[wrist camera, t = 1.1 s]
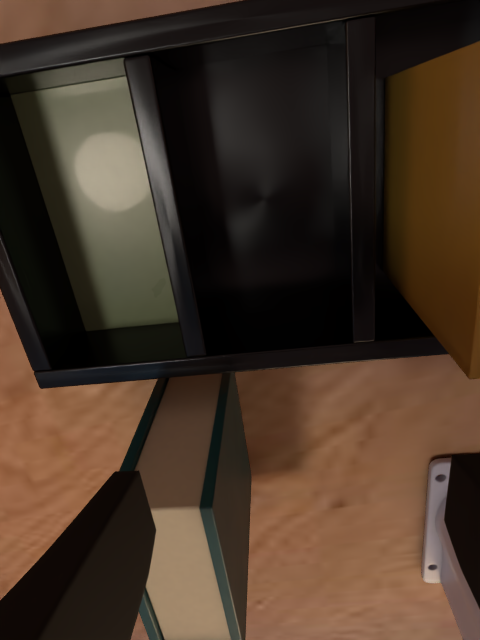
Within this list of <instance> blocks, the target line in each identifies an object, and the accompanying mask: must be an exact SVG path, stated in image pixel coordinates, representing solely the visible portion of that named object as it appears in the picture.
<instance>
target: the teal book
mask: <svg viewBox="0 0 480 640" xmlns="http://www.w3.org/2000/svg"><path fill="white" fill-rule="evenodd" d="M138 470H139V471H140V475H141V478H142V482H143V485H144V489H145V492H146V496H147V499H148V503H149V506H150V509H151V513H152V516H153V520H154V523H155V527H156V535H155V542H154V548H153V554H152V560H151V565H150V571H149V576H148V580H147V583H146V587H145V590H144V594H143V598H142V601H141V605H140V608H139V613H140V616H141V619H142V621H143V624H144V626H145V629H146V632H147V634H148V637H149V640H245V634H246V608H247V581H248V555H249V528H250V502H251V471H250V465H249V459H248V452H247V446H246V440H245V434H244V428H243V421H242V415H241V409H240V403H239V397H238V391H237V384H236V378H235V372H231V373H219V374H207V375H196V376H184V377H172V378H160V379H158V380H157V382H156V385H155V387H154V389H153V392H152V394H151V397H150V399H149V401H148V404H147V406H146V408H145V411H144V413H143V416H142V418H141V420H140V423H139V425H138V428H137V430H136V432H135V435H134V437H133V439H132V442H131V444H130V447H129V449H128V451H127V454H126V456H125V458H124V461H123V463H122V466H121V468H120V470H119V471H138Z"/></svg>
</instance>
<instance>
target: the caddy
mask: <svg viewBox="0 0 480 640" xmlns="http://www.w3.org/2000/svg"><path fill="white" fill-rule="evenodd" d="M478 41H480V0H243V1H237V2H232V3H226V4H220V5H215V6H209V7H204V8H198V9H192V10H187V11H181V12H176V13H170V14H164V15H159V16H153V17H148V18H142V19H136V20H131V21H125V22H120V23H114V24H108V25H103V26H97V27H92V28H86V29H80V30H75V31H69V32H64V33H58V34H52V35H47V36H41V37H36V38H30V39H24V40H19V41H13V42H8V43H2V44H0V289H1V292H2V294H3V297H4V299H5V302H6V304H7V307H8V309H9V312H10V314H11V317H12V319H13V322H14V324H15V327H16V329H17V332H18V334H19V337H20V339H21V342H22V344H23V347H24V350H25V352H26V355H27V357H28V360H29V362H30V365H31V367H32V370H33V371H34V375H35V377H36V380H37V382H38V385H39V387H40V388H41V389H43V388H55V387H66V386H78V385H90V384H102V383H113V382H125V381H137V380H149V379H160V378H172V377H184V376H196V375H207V374H219V373H231V372H243V371H255V370H266V369H278V368H290V367H302V366H313V365H325V364H337V363H349V362H360V361H372V360H384V359H396V358H408V357H419V356H431V355H443V354H449V353H448V352H447V351H446V349H445V348H444V347H443V346H442V344H441V343H440V342H439V341H438V340H437V338H436V337H435V336H434V335H433V333H432V332H431V331H430V330H429V328H428V327H427V326H426V325H425V323H424V322H423V321H422V320H421V318H420V317H419V316H418V315H417V313H416V312H415V311H414V310H413V308H412V307H411V306H410V305H409V303H408V302H407V301H406V300H405V298H404V297H403V296H402V295H401V293H400V292H399V291H398V290H397V288H396V287H395V286H394V285H393V283H392V282H391V281H390V280H389V279H388V277H387V276H386V275H385V274H384V272H383V232H384V139H385V78H386V77H388V76H391V75H393V74H396V73H399V72H401V71H404V70H406V69H409V68H411V67H414V66H417V65H419V64H422V63H424V62H427V61H429V60H432V59H435V58H437V57H440V56H442V55H445V54H447V53H450V52H453V51H455V50H458V49H460V48H463V47H465V46H468V45H471V44H473V43H476V42H478Z"/></svg>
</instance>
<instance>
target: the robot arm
mask: <svg viewBox="0 0 480 640" xmlns="http://www.w3.org/2000/svg"><path fill="white" fill-rule="evenodd" d="M440 474H442V475H440ZM438 475H440V476H438ZM155 535H156V527H155V523H154V520H153V516H152V513H151V509H150V506H149V503H148V499H147V496H146V492H145V489H144V485H143V482H142V478H141V475H140V471H139V470H138V471H118V472H114V473H113V474H112V476H111V477H110V478H109V479H108V480H107V481H106V482H105V484H104V485H103V486H102V487H101V488H100V490H99V491H98V492H97V493H96V494H95V495H94V497H93V498H92V499H91V500H90V501H89V503H88V504H87V505H86V506H85V507H84V509H83V510H82V511H81V512H80V513H79V514H78V516H77V517H76V518H75V519H74V520H73V522H72V523H71V524H70V525H69V526H68V527H67V528H66V530H65V531H64V532H63V533H62V534H61V535H60V536H59V538H58V539H57V540H56V541H55V542H54V543H53V544H52V546H51V547H50V548H49V549H48V550H47V551H46V552H45V553H44V555H43V556H42V557H41V558H40V559H39V560H38V561H37V562H36V563H35V564H34V565H33V567H32V568H31V569H30V570H29V571H28V572H27V573H26V574H25V575H24V576H23V577H22V578H21V579H20V580H19V581H18V582H17V584H16V585H15V586H14V587H13V588H12V589H11V590H10V591H9V592H8V593H7V594H6V595H5V596H4V597H3V598H2V599H1V600H0V640H130V639H131V636H132V633H133V629H134V626H135V622H136V619H137V615H138V612H139V608H140V605H141V601H142V598H143V594H144V590H145V587H146V583H147V580H148V576H149V571H150V565H151V560H152V554H153V548H154V542H155ZM421 575H422V578H423V580H424V581H425V582H427V583H442V586H443V588H444V591H445V594H446V596H447V599H448V601H449V604H450V607H451V609H452V612H453V614H454V617H455V620H456V622H457V625H458V627H459V630H460V633H461V635H462V638H463V640H480V454H466V455H452V457H451V458H439V459H435V460H433V461H432V462H431V463H430V465H429V471H428V485H427V498H426V512H425V526H424V539H423V553H422V566H421Z"/></svg>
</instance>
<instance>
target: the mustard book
mask: <svg viewBox="0 0 480 640" xmlns="http://www.w3.org/2000/svg"><path fill="white" fill-rule="evenodd" d="M383 272H384V274H385V275H386V276H387V277H388V279H389V280H390V281H391V282H392V283H393V285H394V286H395V287H396V288H397V290H398V291H399V292H400V293H401V295H402V296H403V297H404V298H405V300H406V301H407V302H408V303H409V305H410V306H411V307H412V308H413V310H414V311H415V312H416V313H417V315H418V316H419V317H420V318H421V320H422V321H423V322H424V323H425V325H426V326H427V327H428V328H429V330H430V331H431V332H432V333H433V335H434V336H435V337H436V338H437V340H438V341H439V342H440V343H441V344H442V346H443V347H444V348H445V349H446V351H447V352H448V353H449V354H450V356H451V357H452V358H453V359H454V361H455V362H456V363H457V364H458V366H459V367H460V368H461V369H462V371H463V372H464V373H465V374H466V376H467V377H468V378H469V379H480V41H478V42H476V43H473V44H471V45H468V46H465V47H463V48H460V49H458V50H455V51H453V52H450V53H447V54H445V55H442V56H440V57H437V58H435V59H432V60H429V61H427V62H424V63H422V64H419V65H417V66H414V67H411V68H409V69H406V70H404V71H401V72H399V73H396V74H393V75H391V76H388V77H386V78H385V139H384V232H383Z"/></svg>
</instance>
